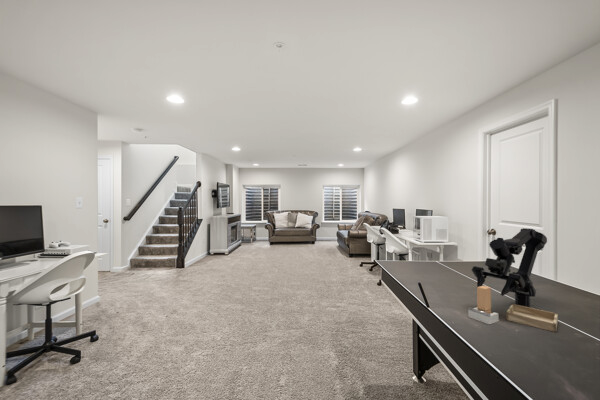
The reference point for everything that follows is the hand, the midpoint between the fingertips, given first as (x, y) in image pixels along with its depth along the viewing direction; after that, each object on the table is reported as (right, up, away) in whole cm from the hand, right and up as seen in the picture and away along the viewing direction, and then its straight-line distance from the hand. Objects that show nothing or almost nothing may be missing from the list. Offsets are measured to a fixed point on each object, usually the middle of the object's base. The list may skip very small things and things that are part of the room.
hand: (489, 291), depth 113 cm
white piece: (-4, -11, -2) cm, 12 cm away
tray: (+15, -11, -3) cm, 19 cm away
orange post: (-4, -10, -2) cm, 11 cm away
